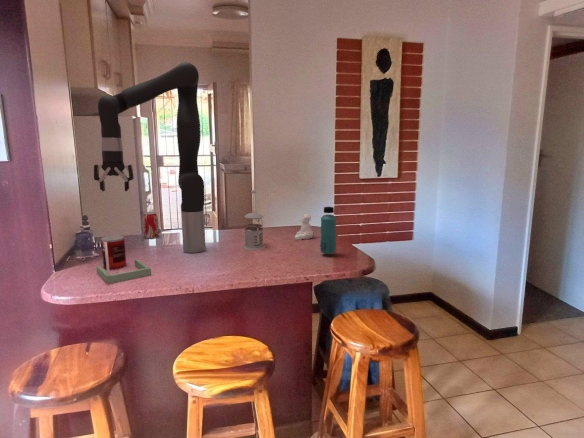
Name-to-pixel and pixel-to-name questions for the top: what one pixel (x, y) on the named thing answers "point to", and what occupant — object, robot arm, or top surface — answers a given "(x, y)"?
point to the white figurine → (304, 229)
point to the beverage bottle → (328, 232)
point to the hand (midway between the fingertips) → (114, 191)
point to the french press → (254, 231)
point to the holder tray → (141, 272)
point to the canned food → (114, 251)
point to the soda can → (150, 225)
